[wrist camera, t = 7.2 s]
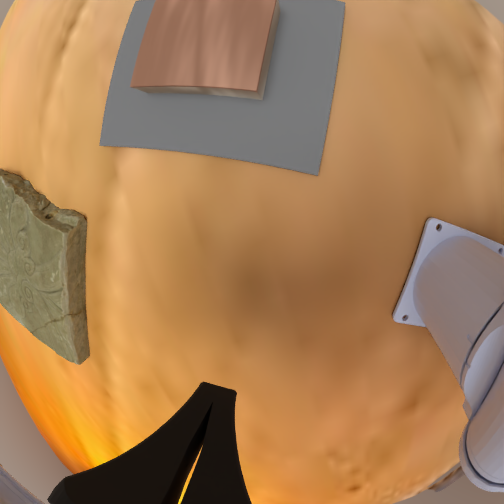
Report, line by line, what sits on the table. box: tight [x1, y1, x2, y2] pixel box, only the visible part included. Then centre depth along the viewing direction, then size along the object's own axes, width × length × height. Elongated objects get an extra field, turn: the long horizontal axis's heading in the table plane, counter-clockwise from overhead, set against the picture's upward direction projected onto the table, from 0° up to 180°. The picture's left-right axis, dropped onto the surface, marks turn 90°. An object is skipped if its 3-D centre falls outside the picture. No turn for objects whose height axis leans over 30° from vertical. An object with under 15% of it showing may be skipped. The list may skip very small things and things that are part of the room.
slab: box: [130, 0, 281, 100], centre depth 13 cm, size 2×7×8 cm
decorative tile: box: [0, 169, 90, 365], centre depth 22 cm, size 19×20×4 cm
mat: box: [100, 0, 345, 176], centre depth 15 cm, size 16×13×1 cm
